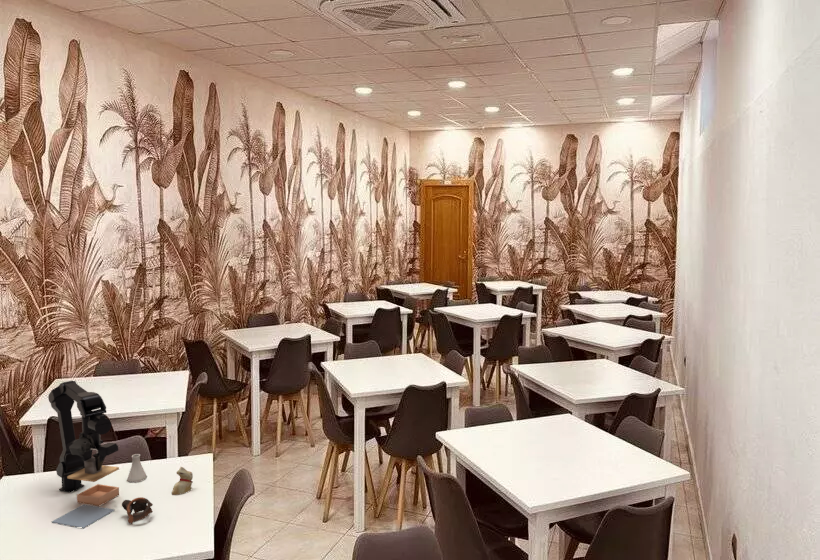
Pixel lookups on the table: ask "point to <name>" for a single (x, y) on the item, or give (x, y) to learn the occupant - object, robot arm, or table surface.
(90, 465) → the wooden lid
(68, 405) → the robot arm
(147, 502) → the brown curved piece
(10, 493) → the table surface
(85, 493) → the terracotta dish
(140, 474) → the flask
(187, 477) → the chocolate bunny
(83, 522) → the slate mat
